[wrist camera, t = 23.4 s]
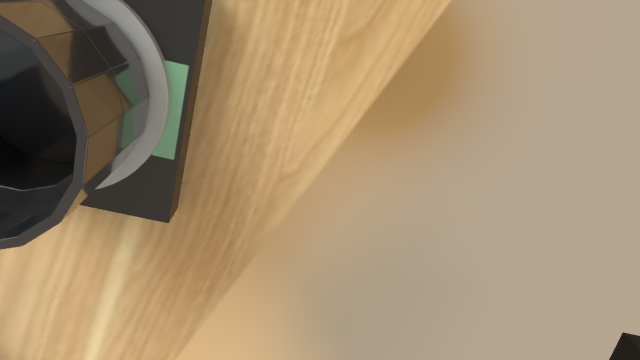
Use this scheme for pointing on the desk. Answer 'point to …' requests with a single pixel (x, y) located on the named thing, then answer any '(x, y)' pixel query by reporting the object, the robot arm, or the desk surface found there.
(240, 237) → the desk surface
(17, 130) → the cup
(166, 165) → the scale
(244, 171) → the desk surface
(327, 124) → the desk surface
